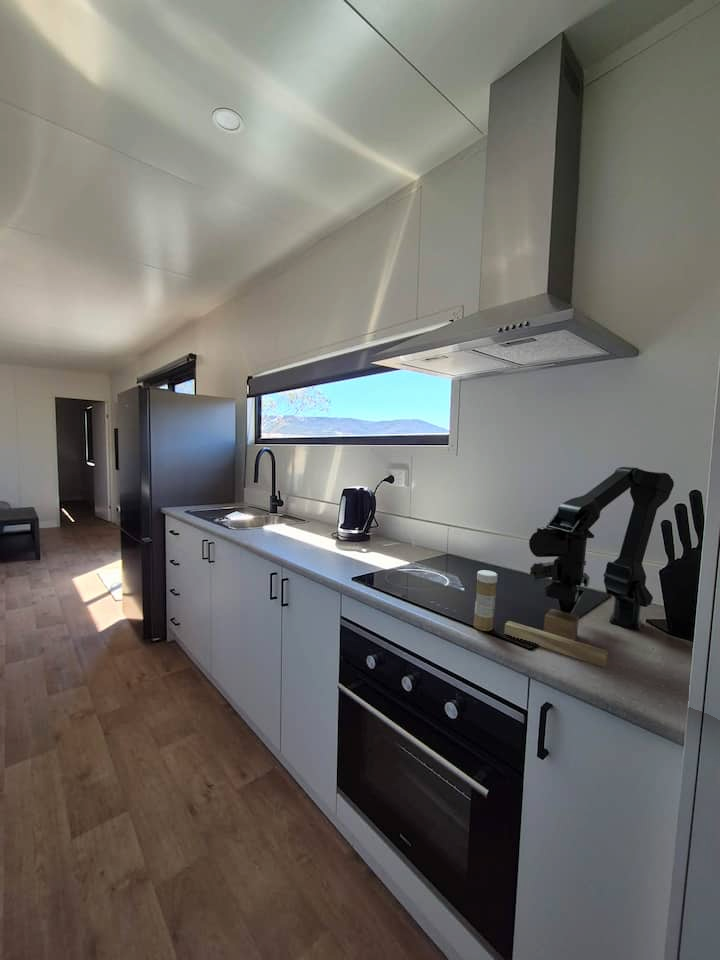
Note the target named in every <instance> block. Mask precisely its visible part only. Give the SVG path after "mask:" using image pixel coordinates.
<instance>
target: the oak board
mask: <svg viewBox="0 0 720 960" xmlns="http://www.w3.org/2000/svg"><path fill="white" fill-rule="evenodd" d="M504 634H507V635H510V636H512V637H511V638H513V637H515V638H514V639H517V638H519V639H518V640H520V639H523V640H527V641H530V642H533V643H536V644H538V645H539V646H538V645H537V646H538V647H542V648H544V649H548V650H551V651H554V652H557V653H560V654H563V655H567V656H569V657H571V658H574V659H578V660H581V661H585V662H587V663H590V664H594V665H595V666H599V667H603V668H605V667H606V664H607V661H608V660H607V659H608V658H607V657H608V650H607V649H603V648H599V647H597V646H593V645H590V644H587V643H583V642H580V641H577V640H571V639H567V638H564V637H561V636H557V635H554V634H551V633H547V632H544V631H543V630H541V629H537V628H534V627H530V626H527V625H524V624H521V623H518V622H514V621H510V620H508V621H507V622H506V623H504V631H503V635H504ZM507 635H506V636H507ZM510 636H509V637H510ZM523 640H522V641H523Z"/></svg>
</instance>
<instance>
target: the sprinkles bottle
mask: <svg viewBox="0 0 720 960" xmlns="http://www.w3.org/2000/svg"><path fill="white" fill-rule="evenodd" d="M476 573H477V575H476V582H477V584H476V585H477V586H476V593H475V596H476V597H475V604H474V617H473V619H474V620H473V627H474V628H476V630H477V629H478V631H479V630H480V631H482V632H483V631H485V632H489V631H492V630H493V629H494V626H493V625H494V624H493V623H494V616H495V608H496V607H495V604H496V590H497V589H496V587H497V583H498V573H496V572H495V571H492V570H485V569H482V570H478V571H477V572H476Z"/></svg>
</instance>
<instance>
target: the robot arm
mask: <svg viewBox="0 0 720 960" xmlns="http://www.w3.org/2000/svg"><path fill="white" fill-rule="evenodd" d="M674 486H675V482H674V479H672V477H671V475H670V474H668V472H667V473H666V472H657V471H656V472H655V471H647V470H643V469H641V468H639V467H632V466H621V467H617V468H616V469H615V470H614V472H613V473H612V474H611V475H610V476H608V477H606V478H605V479H604V480H603V481H601V482H600V483H599V484H598V485H596V486H595V487H593V488H592V489H591V490H589V491H588V492H587V493H585V494H584V495H582V496H581V495H580V496H576V497H573V498H571V499H568V500H566V501H564V502H562V503H561V504H560V505H559V506H558V507H557V511H556V512H555V513H554V515H553V516H552V518H551V519H550V521H549V522H548V523H547V524H546V527H543V526H537V528H536V531H535V532H534V533H532V535H531V536H530V538H529V541H528V546H529V550H530V552H531V553H532V554H533V556H535V557H537V558H552V557H553V558H554V557H556V558H555V559H554V561H549V562H539V563H536V562H535V563H533V564H532V565H531V566H530V571H529V574H530V575H531V576H532V578H533V581H534V580H535V581H538V580H541V579H548V578H551V582H550V583H548V584H547V585H546V586H545V587H544V596H545V597H548V598H551V599H556V600H558V604H559V609H560V610H559V611H563V612H566V613H570V614H573V611H574V609H575V608H576V606H577V604H578V602H579V601H580V600H581V598H582V596H583V594H584V593H585V591H584V590H582V589H579V587H581V586H582V585H583V587H585V588H587V587H589V585H590V579H591V578H590V576H589V574H587V573H586V572H584V571H585V567H586V565H587V560H586V552H587V551H586V550H587V544H588V543H587V540H588V539H594V538H595V534H594V533H593V532H591V530H590V529H591V528H592V527H593V526H594V525H595V523H596V522H597V521H598V520H599V519H600V515H601V511H602V510H603V509H605V508H606V507H608V505H609V504H611V503H612V502H613V501H614V500H616V499H618V497H620V496H621V495H622V494H624V493H625V492H626V491H628V490H629V494H630V497H631V499H632V503H633V506H632V508H631V513H630V516H629V519H628V524H627V527H626V531H625V535H624V536H623V537H624V538H623V541H622V544H621V548H620V552H619V556H618V558H616V559H615V560H614V561H608V562H607V563H606V566H605V572H604V573H603V575H602V577H603V578H604V579H603V584H604V587H605V592H606V595H608V596H611V597H614V599H613V601H614V602H613V607H612V608H613V609H612V610H613V611H612V614H611V615H610V617H609V621H608V622H609V623H610V624H615V625H618V626H622V627H626V628H629V629H633V630H637V631H641V626H642V620H640V619H641V608H642V607H644V608H648V606H651V604H652V602H653V598H654V596H653V595H652V594H651V592H650V591H649V589H648V588H647V586H646V581H647V575H646V572H645V568H644V567H643V561H644V557H645V554H646V550H647V547H648V543H649V539H650V536H651V533H652V529H653V526H654V522H655V519H656V515H657V511H658V509H659V508H660V507H661V506H662V505H663V504H665V503H666V502H667V501H668V500H669V498H670V495H671V494H672V491H673V488H674Z"/></svg>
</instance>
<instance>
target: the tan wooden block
mask: <svg viewBox="0 0 720 960" xmlns="http://www.w3.org/2000/svg"><path fill="white" fill-rule="evenodd" d="M579 619H580V615H576V614H573V613H571V614H570V613H566V612H563V611H561V610H559V609H555V608H551V609H549V610H548V612H547V613H546V614H545V615H544V621H543V629H542V631H544V632H547V633H551V634H554V635H557V636H561V637H564V638H567V639H571V640H574V641H576V638H578V633H579V632H578V630H579V622H580V620H579Z"/></svg>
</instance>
